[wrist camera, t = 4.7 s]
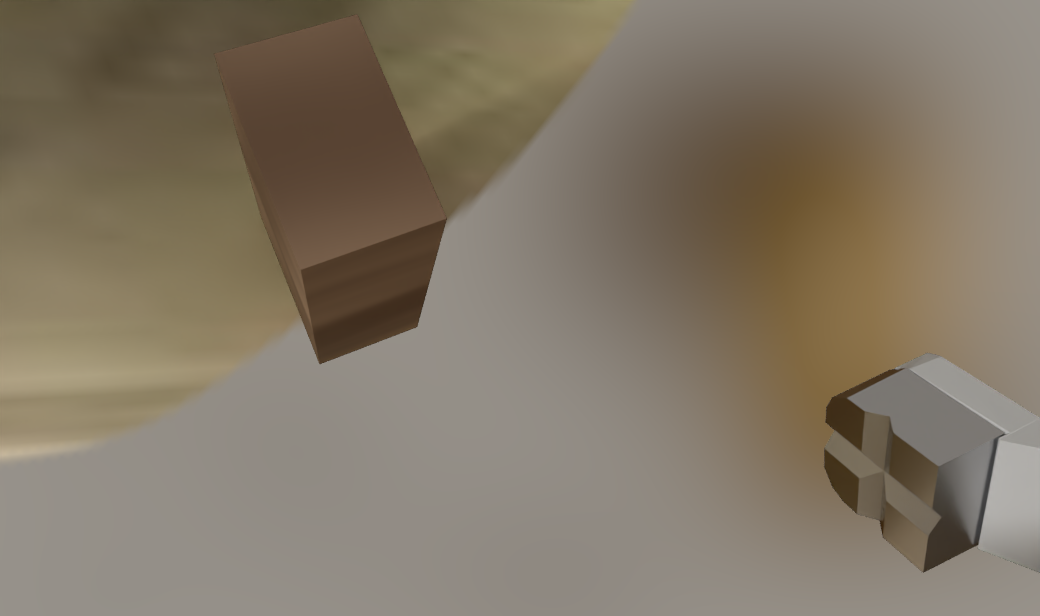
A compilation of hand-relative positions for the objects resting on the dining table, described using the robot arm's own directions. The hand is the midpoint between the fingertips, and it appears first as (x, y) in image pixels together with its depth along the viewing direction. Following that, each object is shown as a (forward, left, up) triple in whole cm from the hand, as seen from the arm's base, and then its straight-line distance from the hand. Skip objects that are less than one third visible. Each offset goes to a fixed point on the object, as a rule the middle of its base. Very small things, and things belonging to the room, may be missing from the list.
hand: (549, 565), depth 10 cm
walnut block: (+5, +5, -11) cm, 13 cm away
